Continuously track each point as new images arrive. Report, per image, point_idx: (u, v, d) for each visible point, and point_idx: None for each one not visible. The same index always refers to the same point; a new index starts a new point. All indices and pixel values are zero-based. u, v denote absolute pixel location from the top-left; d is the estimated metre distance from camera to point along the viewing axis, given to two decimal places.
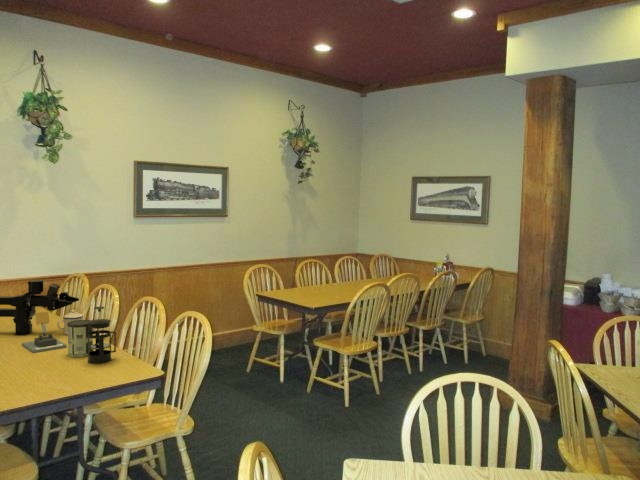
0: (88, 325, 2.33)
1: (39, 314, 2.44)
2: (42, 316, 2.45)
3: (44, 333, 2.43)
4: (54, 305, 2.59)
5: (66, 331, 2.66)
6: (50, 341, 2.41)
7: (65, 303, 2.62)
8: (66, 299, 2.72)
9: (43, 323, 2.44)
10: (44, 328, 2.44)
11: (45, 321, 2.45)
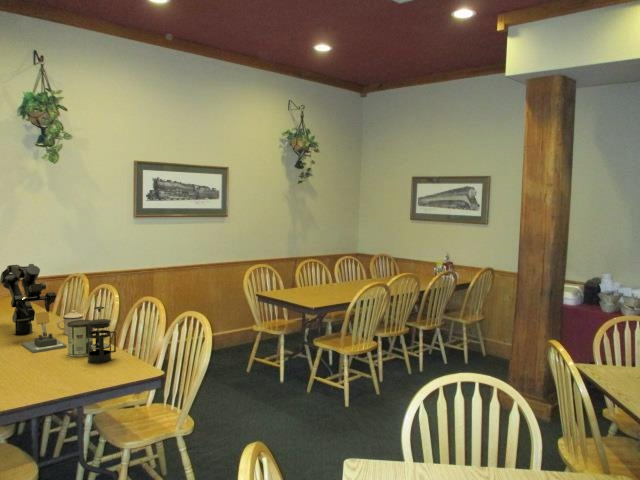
0: (88, 325, 2.33)
1: (39, 314, 2.44)
2: (42, 316, 2.45)
3: (44, 333, 2.43)
4: (16, 304, 2.48)
5: (66, 331, 2.66)
6: (50, 341, 2.41)
7: (24, 310, 2.48)
8: (45, 302, 2.57)
9: (43, 323, 2.44)
10: (44, 328, 2.44)
11: (45, 321, 2.45)
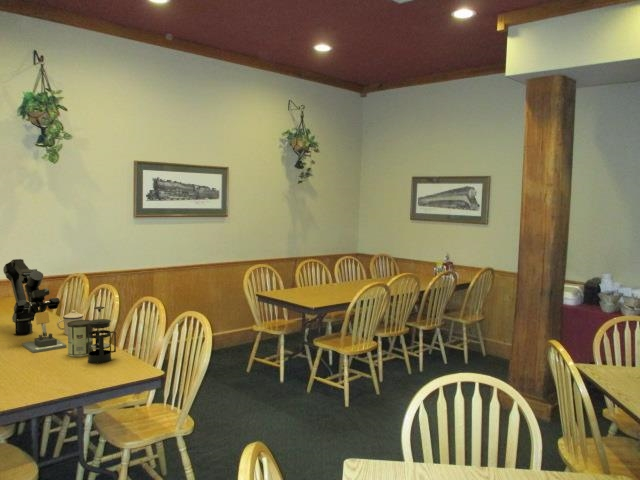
0: (88, 325, 2.32)
1: (39, 314, 2.44)
2: (42, 316, 2.45)
3: (44, 333, 2.43)
4: (29, 309, 2.47)
5: (66, 331, 2.66)
6: (50, 341, 2.41)
7: None
8: (39, 309, 2.50)
9: (43, 323, 2.44)
10: (44, 328, 2.44)
11: (45, 321, 2.45)
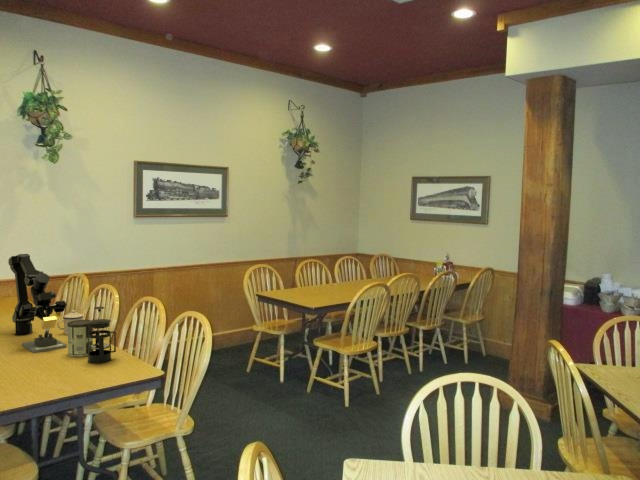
0: (88, 325, 2.33)
1: (47, 321, 2.37)
2: (49, 323, 2.38)
3: (45, 335, 2.42)
4: (35, 313, 2.41)
5: (66, 331, 2.66)
6: (50, 341, 2.41)
7: None
8: (45, 312, 2.44)
9: (48, 328, 2.40)
10: (47, 332, 2.41)
11: (50, 327, 2.40)
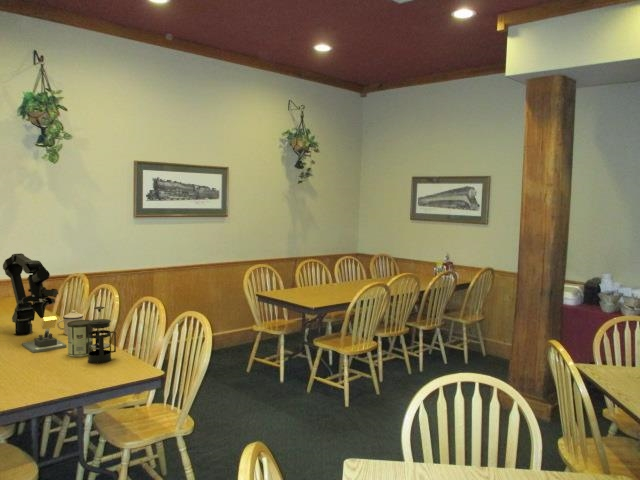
0: (88, 325, 2.32)
1: (47, 321, 2.37)
2: (49, 323, 2.38)
3: (45, 335, 2.42)
4: (33, 303, 2.49)
5: (66, 331, 2.66)
6: (50, 341, 2.41)
7: (39, 312, 2.51)
8: None
9: (48, 328, 2.40)
10: (47, 332, 2.41)
11: (50, 327, 2.40)
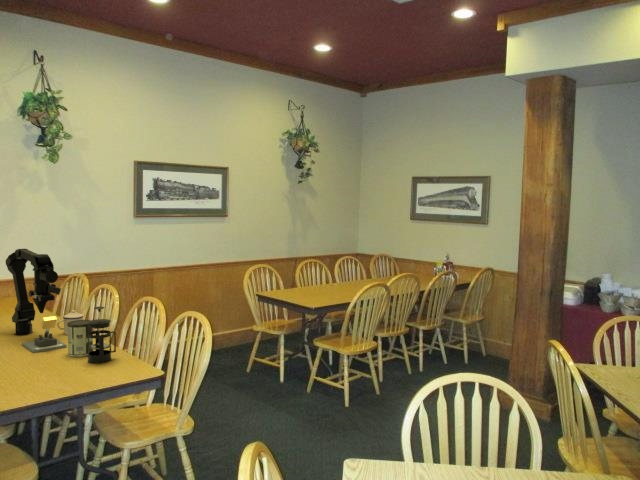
0: (88, 325, 2.32)
1: (47, 321, 2.37)
2: (49, 323, 2.38)
3: (45, 335, 2.42)
4: None
5: (66, 331, 2.66)
6: (50, 341, 2.41)
7: (42, 307, 2.54)
8: None
9: (48, 328, 2.40)
10: (47, 332, 2.41)
11: (50, 327, 2.40)
